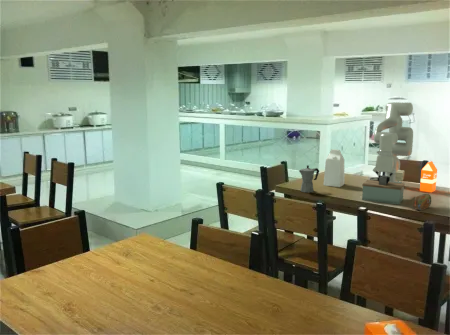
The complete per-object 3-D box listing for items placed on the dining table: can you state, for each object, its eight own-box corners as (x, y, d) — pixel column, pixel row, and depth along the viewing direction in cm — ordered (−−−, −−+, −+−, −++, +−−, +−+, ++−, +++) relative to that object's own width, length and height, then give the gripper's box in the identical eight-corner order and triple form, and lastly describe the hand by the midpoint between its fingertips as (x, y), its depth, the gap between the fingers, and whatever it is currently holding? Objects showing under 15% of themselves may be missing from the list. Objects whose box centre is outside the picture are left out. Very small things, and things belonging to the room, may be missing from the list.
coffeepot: (301, 193, 282) (302, 167, 278) (295, 190, 291) (295, 164, 287) (321, 191, 286) (322, 165, 283) (315, 188, 295) (315, 163, 292)
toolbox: (368, 193, 280) (369, 178, 278) (403, 197, 269) (404, 182, 267) (362, 199, 265) (362, 184, 263) (399, 204, 254) (400, 188, 252)
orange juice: (435, 190, 288) (438, 161, 284) (431, 192, 282) (434, 163, 278) (423, 188, 293) (426, 160, 289) (419, 190, 287) (421, 162, 283)
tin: (417, 211, 239) (418, 197, 237) (412, 210, 241) (413, 196, 240) (431, 207, 247) (432, 193, 246) (426, 206, 250) (427, 192, 248)
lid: (367, 181, 275) (367, 173, 274) (404, 185, 263) (404, 176, 262) (362, 185, 263) (362, 177, 262) (400, 190, 252) (401, 180, 251)
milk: (344, 184, 308) (346, 149, 303) (339, 187, 299) (341, 151, 294) (328, 182, 315) (329, 148, 310) (323, 185, 305) (324, 150, 300)
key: (397, 178, 277) (398, 170, 276) (403, 178, 275) (404, 170, 274) (395, 180, 271) (395, 172, 270) (401, 181, 269) (402, 172, 268)
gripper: (370, 153, 261) (368, 182, 264) (398, 155, 252) (396, 185, 256) (372, 151, 267) (371, 179, 270) (400, 153, 258) (398, 182, 262)
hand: (383, 182), depth 263 cm, fingers closed on lid, 4 cm apart
